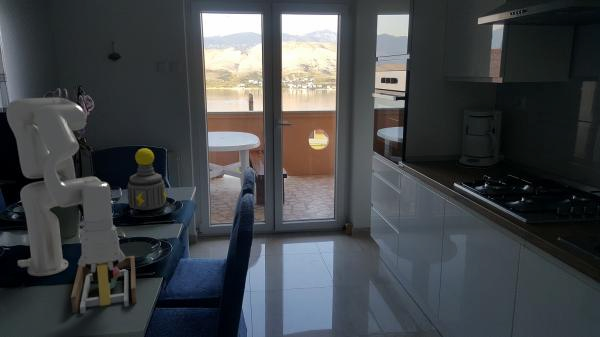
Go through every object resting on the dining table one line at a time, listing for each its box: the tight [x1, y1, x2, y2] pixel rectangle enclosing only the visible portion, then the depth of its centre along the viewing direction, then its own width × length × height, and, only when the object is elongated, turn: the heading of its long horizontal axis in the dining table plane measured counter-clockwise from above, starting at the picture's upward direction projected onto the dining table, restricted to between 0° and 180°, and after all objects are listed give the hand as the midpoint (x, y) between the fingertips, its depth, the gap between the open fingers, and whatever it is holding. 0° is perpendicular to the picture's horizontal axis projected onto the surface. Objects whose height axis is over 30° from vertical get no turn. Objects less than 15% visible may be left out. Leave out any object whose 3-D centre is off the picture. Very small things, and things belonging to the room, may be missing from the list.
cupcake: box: [92, 265, 120, 290], centre depth 147 cm, size 9×8×12 cm
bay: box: [70, 255, 137, 314], centre depth 147 cm, size 18×25×5 cm
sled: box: [79, 262, 130, 314], centre depth 143 cm, size 13×22×13 cm, turn 20°
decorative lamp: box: [126, 147, 167, 211], centre depth 232 cm, size 19×19×30 cm
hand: (103, 281), depth 137 cm, fingers closed on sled, 2 cm apart
